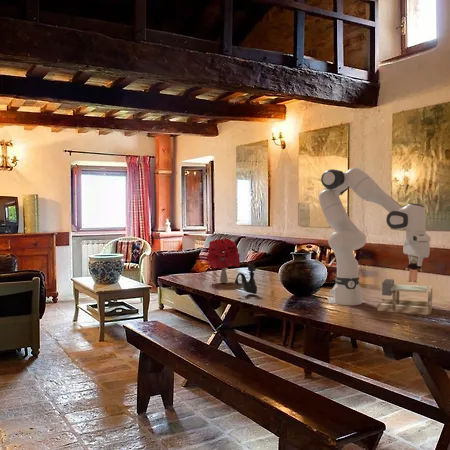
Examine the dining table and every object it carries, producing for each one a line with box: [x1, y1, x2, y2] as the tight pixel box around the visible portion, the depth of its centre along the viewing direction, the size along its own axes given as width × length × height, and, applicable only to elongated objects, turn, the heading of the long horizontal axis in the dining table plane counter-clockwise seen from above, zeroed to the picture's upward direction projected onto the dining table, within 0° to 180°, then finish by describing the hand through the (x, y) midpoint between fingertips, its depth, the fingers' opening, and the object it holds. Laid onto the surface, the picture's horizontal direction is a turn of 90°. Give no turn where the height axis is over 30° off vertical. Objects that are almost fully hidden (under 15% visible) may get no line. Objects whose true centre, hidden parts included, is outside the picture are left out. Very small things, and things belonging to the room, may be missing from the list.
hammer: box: [381, 278, 428, 296], centre depth 240 cm, size 20×14×6 cm
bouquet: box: [206, 237, 241, 284], centre depth 333 cm, size 22×24×30 cm
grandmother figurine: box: [405, 256, 423, 284], centre depth 240 cm, size 8×4×13 cm, turn 76°
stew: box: [323, 257, 337, 285], centre depth 326 cm, size 28×24×16 cm
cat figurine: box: [234, 262, 258, 295], centre depth 287 cm, size 10×14×18 cm
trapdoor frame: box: [377, 285, 433, 316], centre depth 240 cm, size 24×18×11 cm
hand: (415, 265), depth 238 cm, fingers open, 6 cm apart
